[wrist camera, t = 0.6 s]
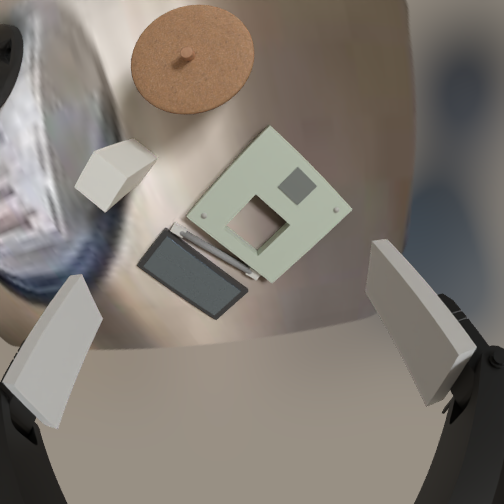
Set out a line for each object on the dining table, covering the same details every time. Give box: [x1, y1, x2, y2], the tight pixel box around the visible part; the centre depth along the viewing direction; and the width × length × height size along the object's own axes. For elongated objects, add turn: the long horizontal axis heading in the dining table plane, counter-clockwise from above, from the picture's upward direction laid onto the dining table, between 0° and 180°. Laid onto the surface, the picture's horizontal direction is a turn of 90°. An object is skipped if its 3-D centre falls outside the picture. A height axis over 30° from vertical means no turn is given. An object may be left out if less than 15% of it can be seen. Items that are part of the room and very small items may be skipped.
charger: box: [75, 138, 158, 213], centre depth 26 cm, size 4×4×10 cm
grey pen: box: [170, 222, 261, 280], centre depth 36 cm, size 13×1×1 cm, turn 55°
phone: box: [137, 228, 248, 320], centre depth 38 cm, size 14×7×1 cm, turn 47°
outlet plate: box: [186, 125, 352, 283], centre depth 33 cm, size 14×14×2 cm
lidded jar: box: [131, 5, 254, 114], centre depth 21 cm, size 11×11×9 cm
